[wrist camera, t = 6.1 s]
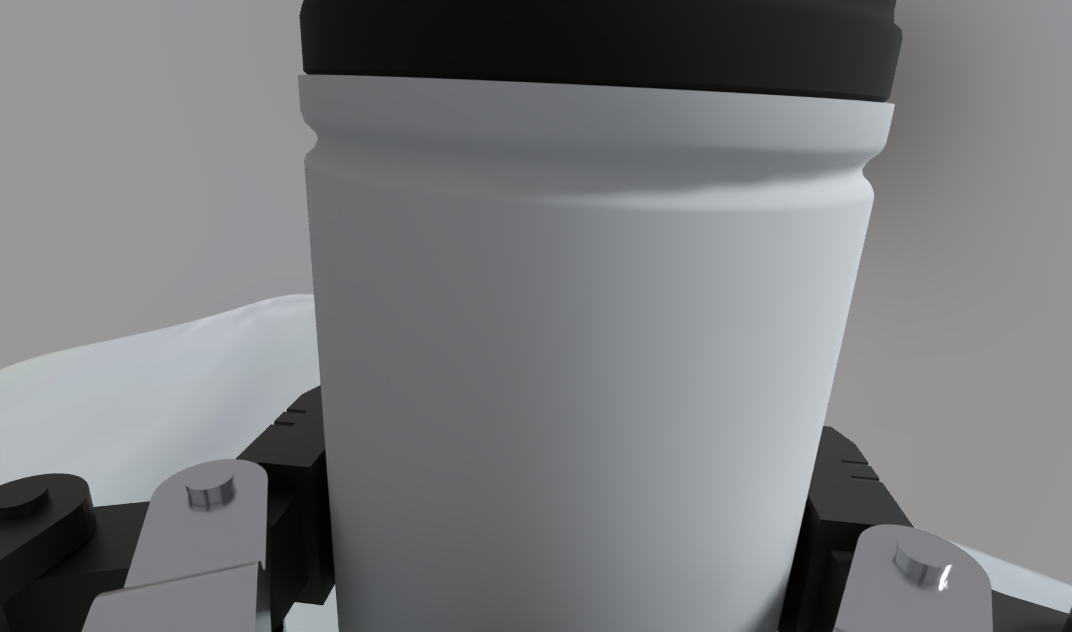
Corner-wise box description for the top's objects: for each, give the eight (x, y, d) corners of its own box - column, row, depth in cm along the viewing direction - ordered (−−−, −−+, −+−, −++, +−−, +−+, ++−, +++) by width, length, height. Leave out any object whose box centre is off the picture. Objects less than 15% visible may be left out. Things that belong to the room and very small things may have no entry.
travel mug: (745, 936, 13) (1038, -216, 7) (544, 1389, 9) (873, -1059, 2) (526, 740, 17) (576, -117, 11) (302, 977, 12) (137, -318, 6)
